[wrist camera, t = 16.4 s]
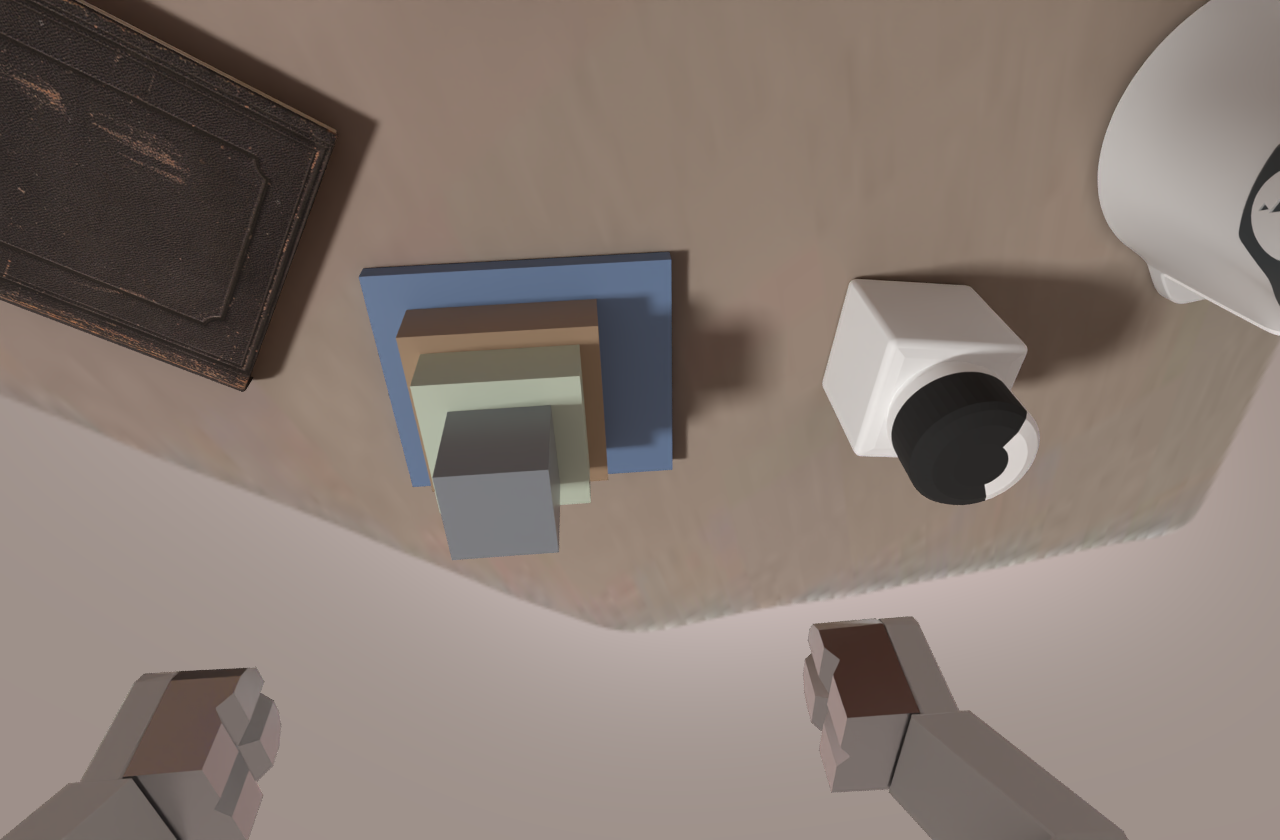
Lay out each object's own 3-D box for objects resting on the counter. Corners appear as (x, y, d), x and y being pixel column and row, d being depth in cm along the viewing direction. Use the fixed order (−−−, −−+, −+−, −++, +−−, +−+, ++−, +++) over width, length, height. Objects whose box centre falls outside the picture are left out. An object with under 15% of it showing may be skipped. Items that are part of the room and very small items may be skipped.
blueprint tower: (669, 251, 41) (685, 313, 36) (670, 459, 49) (683, 537, 44) (362, 268, 41) (328, 334, 35) (415, 476, 49) (394, 557, 43)
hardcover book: (-262, -194, 29) (-320, -198, 27) (348, 122, 37) (336, 136, 35) (-250, 179, 37) (-295, 196, 35) (254, 375, 44) (241, 398, 43)
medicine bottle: (819, 385, 47) (884, 521, 37) (848, 276, 43) (930, 397, 33) (932, 390, 48) (1024, 525, 38) (971, 283, 44) (1086, 403, 34)
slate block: (550, 404, 38) (548, 469, 34) (560, 483, 41) (558, 552, 37) (447, 411, 38) (432, 477, 34) (464, 490, 41) (452, 560, 37)
